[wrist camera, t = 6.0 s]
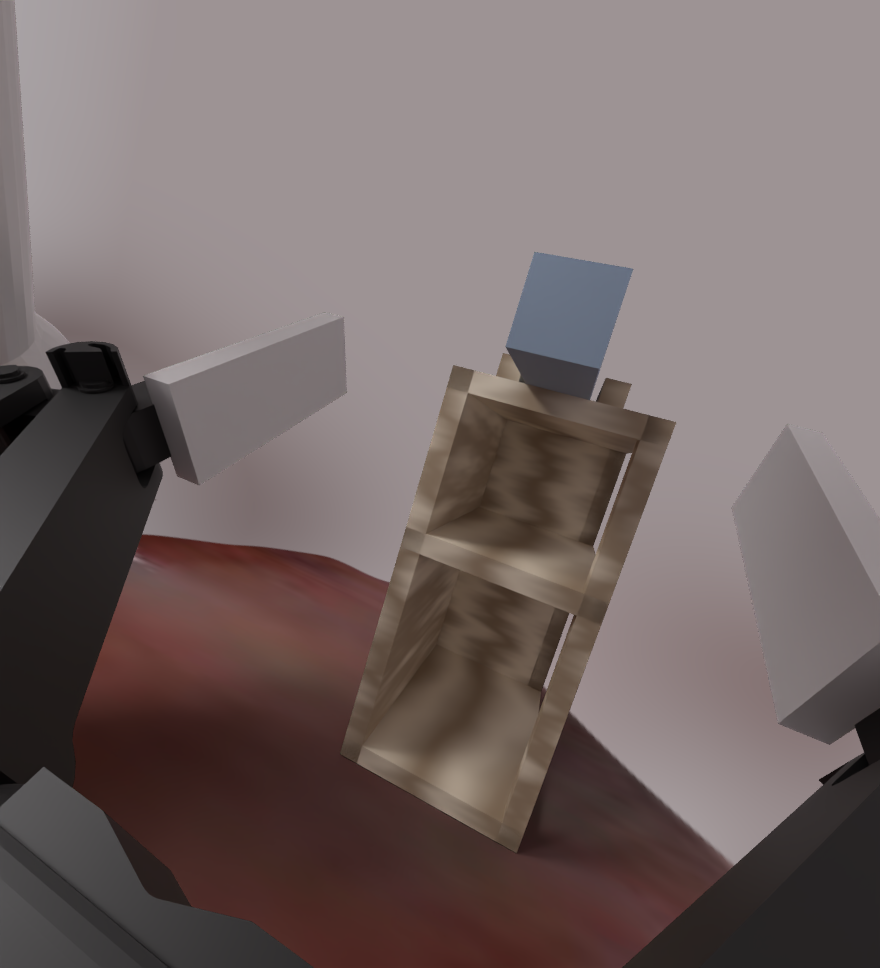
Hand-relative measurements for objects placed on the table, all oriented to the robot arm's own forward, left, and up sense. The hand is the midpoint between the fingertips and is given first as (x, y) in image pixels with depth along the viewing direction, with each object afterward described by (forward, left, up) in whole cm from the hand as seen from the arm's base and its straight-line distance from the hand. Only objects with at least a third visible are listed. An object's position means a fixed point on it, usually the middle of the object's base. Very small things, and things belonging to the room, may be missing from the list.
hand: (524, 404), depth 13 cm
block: (0, +18, +3) cm, 18 cm away
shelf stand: (0, +24, -27) cm, 37 cm away
